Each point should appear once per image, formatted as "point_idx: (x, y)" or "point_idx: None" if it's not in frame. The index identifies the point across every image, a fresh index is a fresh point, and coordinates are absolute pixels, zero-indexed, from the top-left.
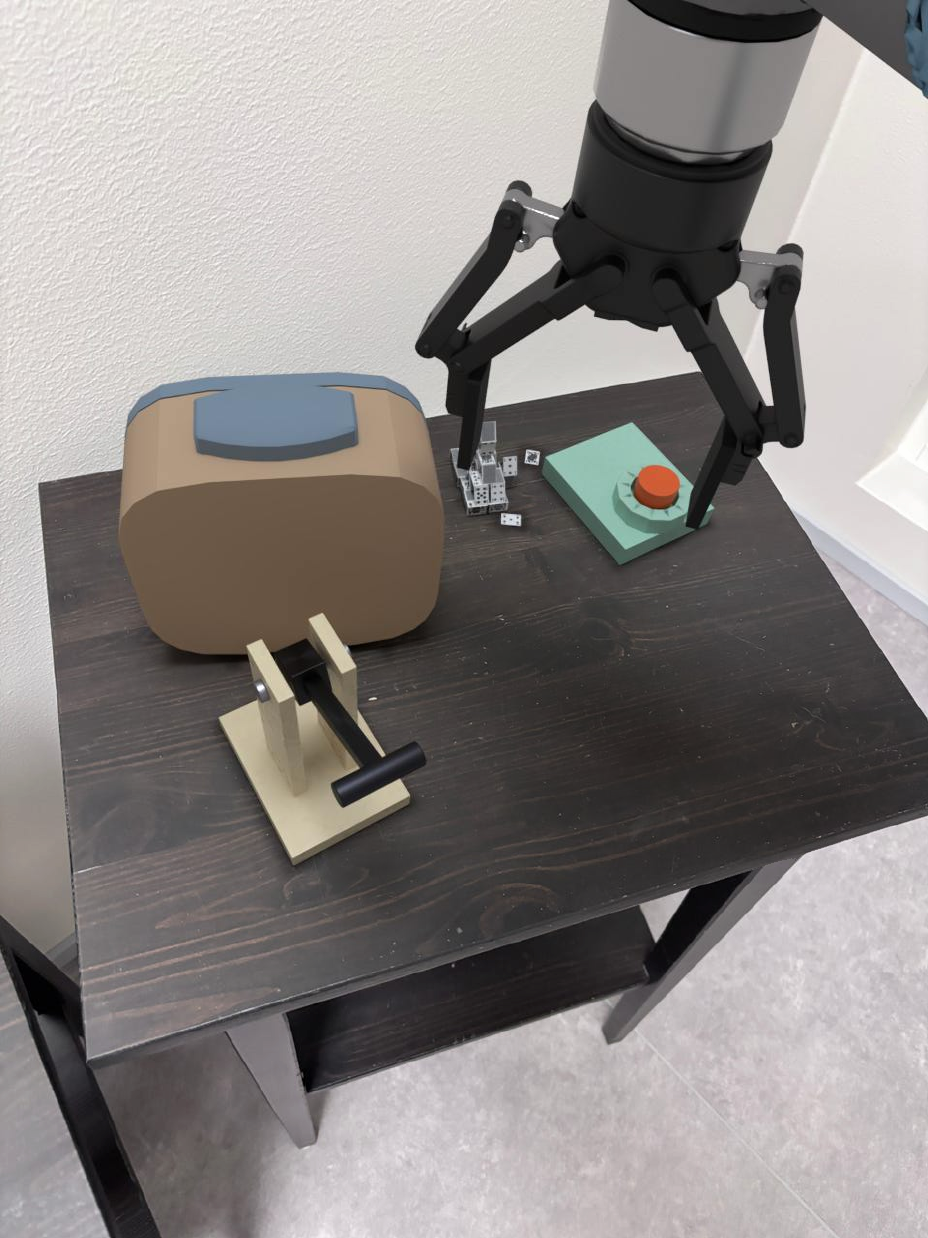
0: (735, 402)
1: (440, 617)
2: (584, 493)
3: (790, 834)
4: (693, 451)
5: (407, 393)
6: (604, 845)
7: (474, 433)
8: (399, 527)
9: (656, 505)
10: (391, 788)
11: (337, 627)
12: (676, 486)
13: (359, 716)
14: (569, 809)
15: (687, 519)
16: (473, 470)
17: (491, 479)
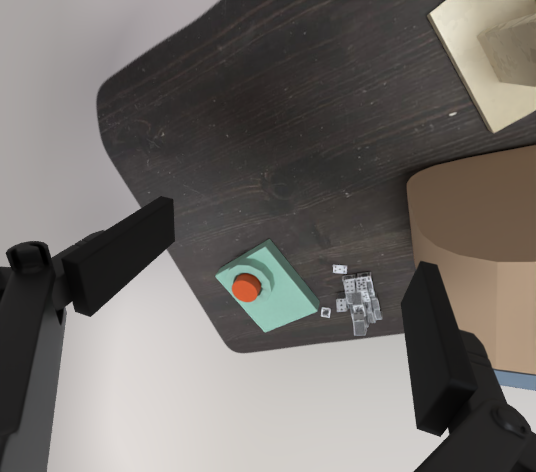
0: (11, 319)
1: (392, 191)
2: (292, 285)
3: (156, 50)
4: (231, 313)
5: None
6: (272, 12)
7: (428, 302)
8: (470, 222)
9: (246, 275)
10: (446, 17)
11: (492, 161)
12: (233, 287)
13: (471, 86)
14: (297, 39)
15: (169, 205)
16: (366, 303)
17: (354, 295)
